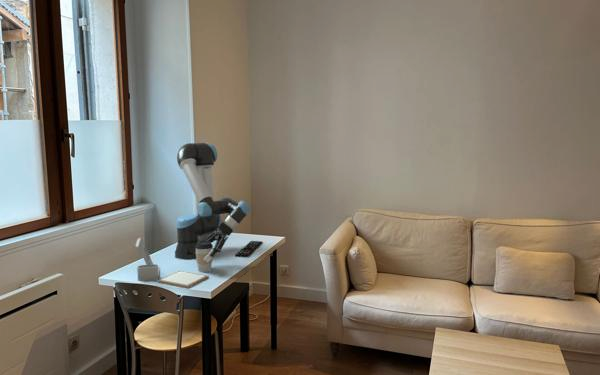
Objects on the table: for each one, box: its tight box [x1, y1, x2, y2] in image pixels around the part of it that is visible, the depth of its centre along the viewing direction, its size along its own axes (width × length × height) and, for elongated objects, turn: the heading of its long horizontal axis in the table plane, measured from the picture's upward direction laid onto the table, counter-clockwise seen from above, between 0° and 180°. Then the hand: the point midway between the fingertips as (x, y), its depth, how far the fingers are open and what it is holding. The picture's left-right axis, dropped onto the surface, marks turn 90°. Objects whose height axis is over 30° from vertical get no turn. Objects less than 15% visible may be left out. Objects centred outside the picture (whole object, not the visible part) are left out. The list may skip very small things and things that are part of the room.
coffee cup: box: [195, 241, 214, 273], centre depth 234 cm, size 9×9×15 cm
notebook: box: [157, 270, 209, 289], centre depth 220 cm, size 18×16×1 cm
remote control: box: [234, 240, 263, 258], centre depth 274 cm, size 8×32×2 cm, turn 169°
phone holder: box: [135, 237, 161, 281], centre depth 227 cm, size 17×10×18 cm, turn 15°
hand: (201, 257), depth 233 cm, fingers open, 13 cm apart
